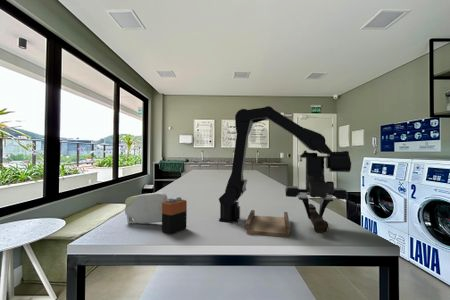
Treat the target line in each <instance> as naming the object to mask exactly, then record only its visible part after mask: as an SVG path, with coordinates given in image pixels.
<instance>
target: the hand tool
mask: <svg viewBox="0 0 450 300" xmlns="http://www.w3.org/2000/svg"><path fill="white" fill-rule="evenodd" d="M309 210H310V219H309V220H310V222H311V224H312V226H313V230H314V232H315V233H316V234H325V233H327V232H328V231H329V230H328V228H329V223H328V221H326V220H325V219H324V217H323V216H320V215H319V211H317V208H316V206H315V205H314V204H313V203H309Z"/></svg>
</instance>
